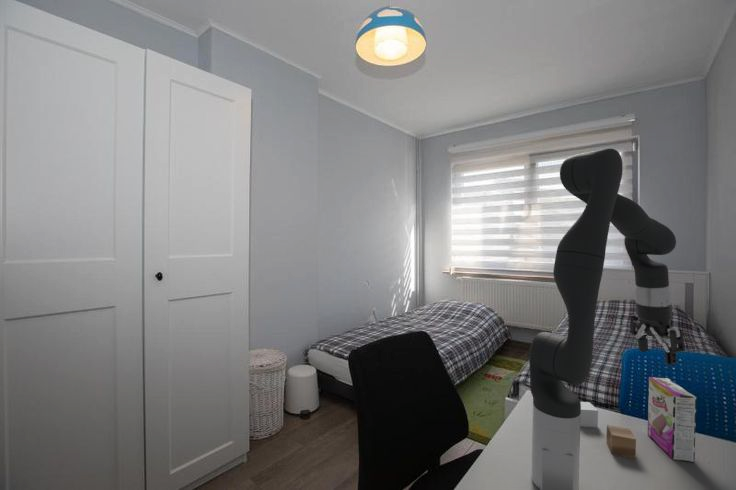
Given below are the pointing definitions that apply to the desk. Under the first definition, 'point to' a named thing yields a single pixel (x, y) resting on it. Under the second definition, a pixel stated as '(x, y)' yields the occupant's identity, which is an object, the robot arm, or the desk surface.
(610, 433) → the walnut block
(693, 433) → the candy bar box
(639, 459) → the desk surface
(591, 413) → the grey block
